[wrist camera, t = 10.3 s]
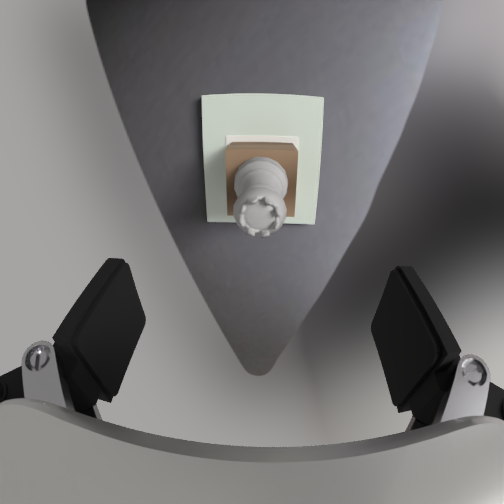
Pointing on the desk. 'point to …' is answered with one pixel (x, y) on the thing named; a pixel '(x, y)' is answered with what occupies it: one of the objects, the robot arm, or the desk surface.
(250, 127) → the build board
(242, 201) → the rook chess piece
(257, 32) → the desk surface
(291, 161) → the walnut block
